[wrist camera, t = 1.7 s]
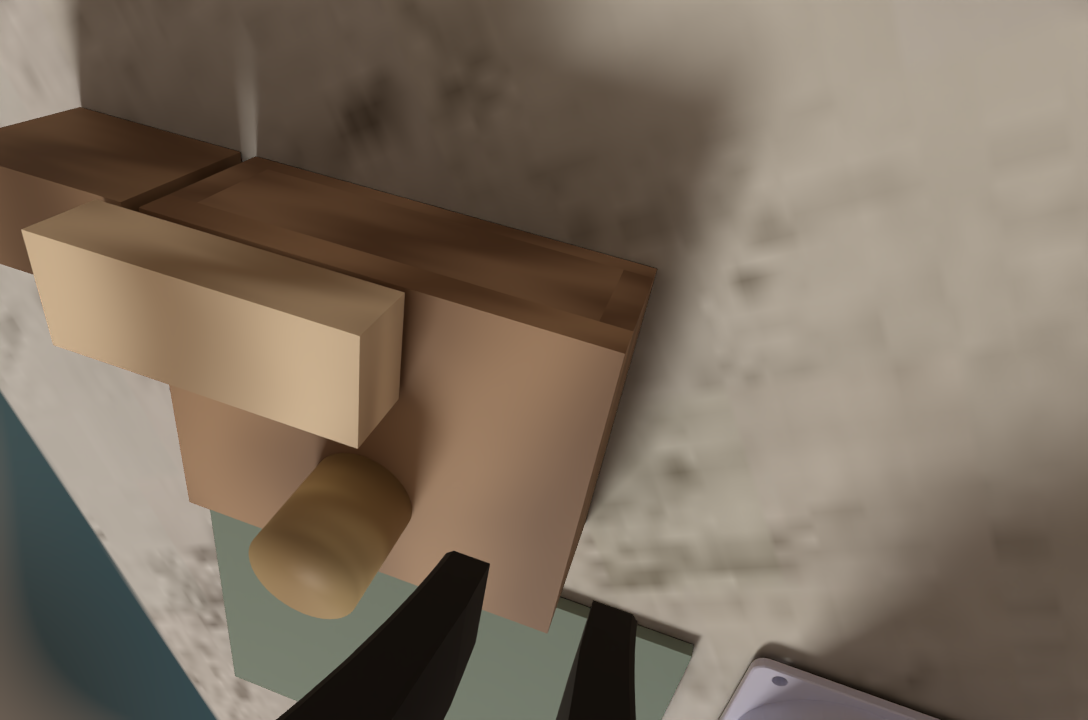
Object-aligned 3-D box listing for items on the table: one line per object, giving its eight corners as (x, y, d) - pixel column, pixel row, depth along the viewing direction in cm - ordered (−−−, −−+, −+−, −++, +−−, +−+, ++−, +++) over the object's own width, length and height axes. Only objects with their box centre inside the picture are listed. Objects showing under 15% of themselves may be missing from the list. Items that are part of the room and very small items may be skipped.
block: (405, 292, 16) (359, 336, 14) (398, 399, 17) (358, 449, 16) (95, 199, 17) (21, 229, 15) (118, 307, 18) (53, 344, 17)
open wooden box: (657, 268, 19) (625, 353, 15) (584, 526, 24) (547, 633, 21) (80, 107, 21) (-68, 145, 18) (134, 372, 27) (31, 443, 23)
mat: (693, 644, 26) (691, 656, 25) (610, 816, 34) (608, 827, 33) (213, 472, 29) (205, 480, 28) (241, 667, 37) (235, 675, 36)
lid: (633, 331, 16) (592, 438, 12) (556, 606, 21) (514, 729, 18) (168, 194, 18) (27, 255, 14) (210, 481, 23) (115, 573, 20)
